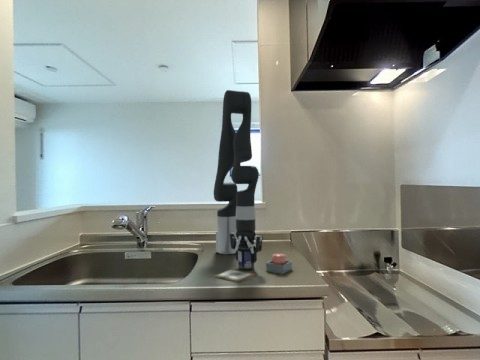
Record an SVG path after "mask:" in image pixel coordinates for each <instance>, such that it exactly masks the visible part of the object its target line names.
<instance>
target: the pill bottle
mask: <svg viewBox="0 0 480 360" xmlns="http://www.w3.org/2000/svg"><path fill="white" fill-rule="evenodd" d="M237 268H238V270H239V271H251V270H253V269H255V263H251V250H250V248H249V247H248V245H247V241H245V240H240V246H239V247H238V261H237Z"/></svg>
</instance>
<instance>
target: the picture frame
mask: <svg viewBox="0 0 480 360" xmlns="http://www.w3.org/2000/svg"><path fill="white" fill-rule="evenodd" d="M255 276H256V273H252V272H247V271H244V270H238V269H232V268H229V269H226V270H224V271H222V272H220V273H217V274H215V275H214V278H217V279H221V280H226V281H230V282H234V283H238V284H239V283H240V284H241V283H243V282H246V281H248V280H250V279H251V278H254V277H255Z"/></svg>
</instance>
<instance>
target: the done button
mask: <svg viewBox="0 0 480 360" xmlns="http://www.w3.org/2000/svg"><path fill="white" fill-rule="evenodd" d="M271 255H272V257H271V258H272V259H271V260H272V263H273V264H279V265H284V264H286V260H287V259H286V257H287V255H286V254H284V253H273V254H271Z"/></svg>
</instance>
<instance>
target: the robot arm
mask: <svg viewBox="0 0 480 360" xmlns="http://www.w3.org/2000/svg"><path fill="white" fill-rule="evenodd" d="M222 99H223V102H222V119H221V120H222V121H221V132H220V140H219V147H218V148H219V149H218V162H217V171H216V174H215V175H216V176H215V180H214V187H213V199H214V200H215V201H216V202H220V203H221V202H227V203H228V204H227V205H226V206H224V207H222V208H219V209H218V210H217V212H216V215H217V216H216V217H217V220H216V221H217V228H216V229H217V231H216V232H215V252H216V253H218V254H221V255H235V260H236V261H237V262H238V247H239V246H240V240H245V241H247V245H248V247H249V248H250V250H251V263H254V264H256V262H257V260H258V258H257V257H258V256H257V253H259V252H261V251H262V248H263V238H264V237H263V235H257V234H256V208H255V194H256V188H257V184H258V181H259V178H260V177H259V176H260V175H259V174H260V172H259V169H258V167H256V166H255V165H241V164H242V163H245V162H249V161H251V160H252V158H253V152H252V142H251V139H252V138H251V131H252V129H251V128H252V127H251V124H252V96H251V94H250V92H249V91H245V90H236V89H227V90H225V92H224V94H223V98H222ZM232 114H236V115H242V121H241V123H240V125H239V126H238V129H237V130H235V128H234V126H233V123H232ZM230 171H231V172H230ZM229 172H230V178H231V181H225V179H226V177H227V175H228V173H229ZM238 185H247V187H246V188H245V189H242V190H238Z"/></svg>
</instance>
